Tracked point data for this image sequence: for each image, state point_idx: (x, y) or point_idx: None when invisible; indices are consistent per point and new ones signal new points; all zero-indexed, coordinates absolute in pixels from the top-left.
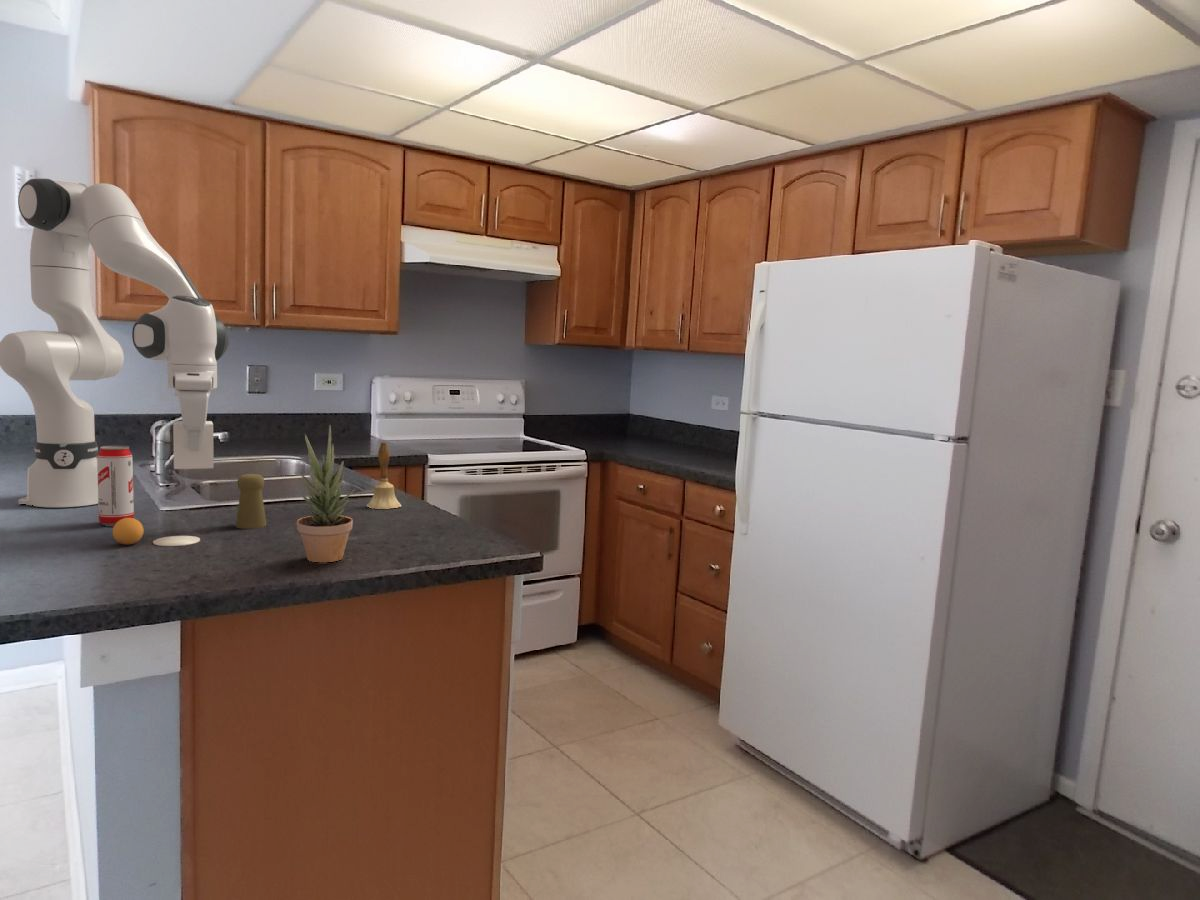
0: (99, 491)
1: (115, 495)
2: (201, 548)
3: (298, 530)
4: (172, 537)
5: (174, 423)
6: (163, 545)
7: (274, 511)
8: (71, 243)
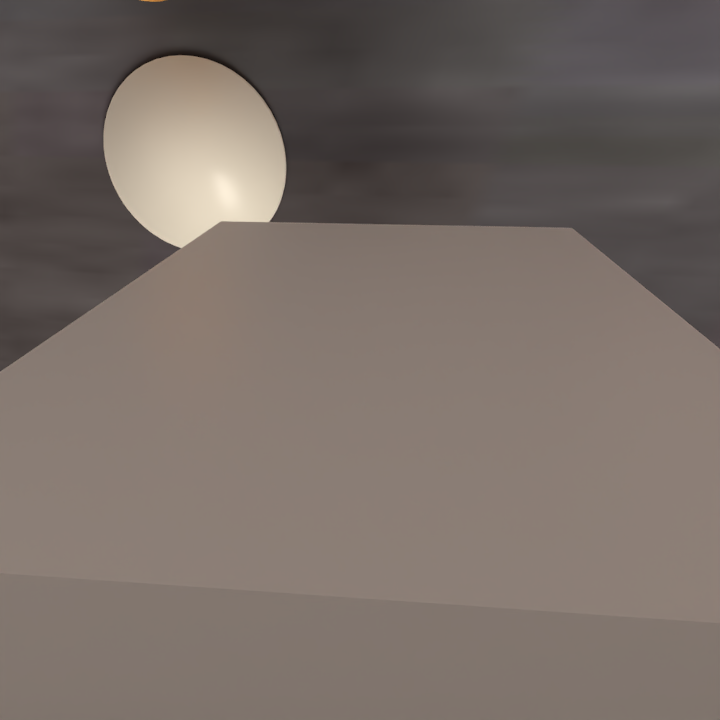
0: None
1: None
2: (66, 248)
3: None
4: (258, 144)
5: (14, 599)
6: (111, 104)
7: None
8: None
